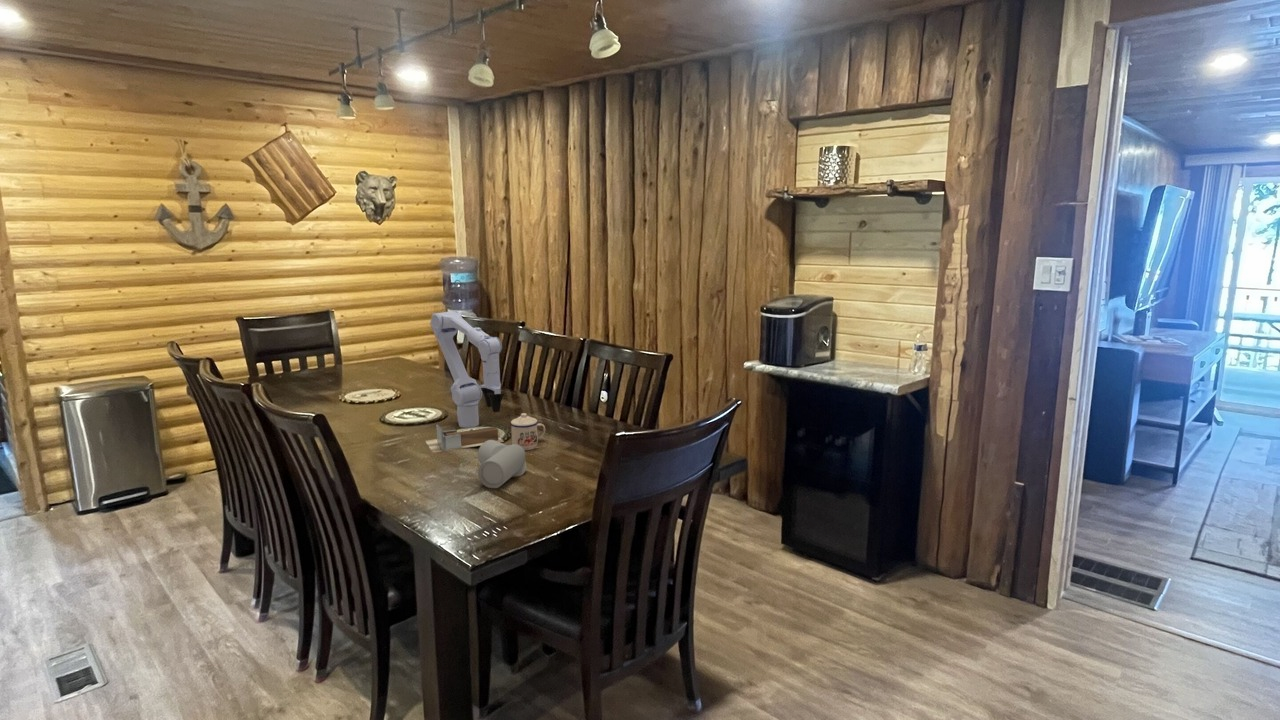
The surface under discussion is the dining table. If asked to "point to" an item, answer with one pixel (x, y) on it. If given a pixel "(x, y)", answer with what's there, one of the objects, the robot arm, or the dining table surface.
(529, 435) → the teacup with lid
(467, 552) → the dining table surface
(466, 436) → the rail
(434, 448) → the base board
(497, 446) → the elbow connector
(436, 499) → the dining table surface
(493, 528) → the dining table surface
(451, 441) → the bracket
